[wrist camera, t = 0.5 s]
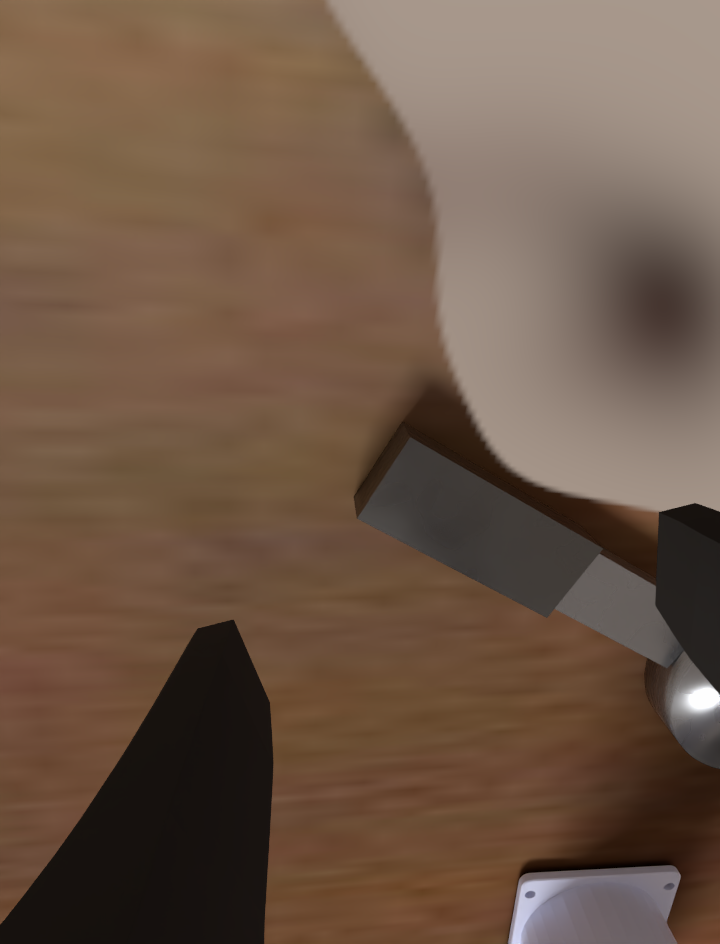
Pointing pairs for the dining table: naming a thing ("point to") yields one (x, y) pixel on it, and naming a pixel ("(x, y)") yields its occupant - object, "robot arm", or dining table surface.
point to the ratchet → (536, 567)
